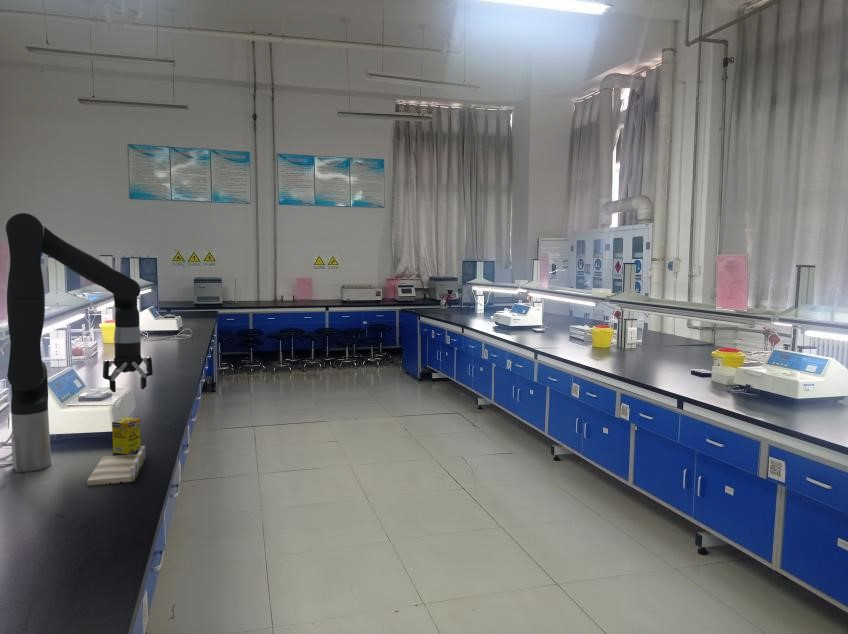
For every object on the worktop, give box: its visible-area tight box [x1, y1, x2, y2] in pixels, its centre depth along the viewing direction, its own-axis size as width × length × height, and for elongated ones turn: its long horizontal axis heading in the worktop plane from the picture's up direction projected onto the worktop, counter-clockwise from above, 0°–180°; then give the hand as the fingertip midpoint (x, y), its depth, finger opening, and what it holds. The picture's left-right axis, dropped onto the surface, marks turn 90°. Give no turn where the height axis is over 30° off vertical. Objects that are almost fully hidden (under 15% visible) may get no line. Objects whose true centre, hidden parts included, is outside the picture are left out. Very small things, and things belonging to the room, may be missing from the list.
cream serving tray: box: [86, 445, 146, 486], centre depth 177 cm, size 20×12×4 cm, turn 17°
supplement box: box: [111, 416, 142, 456], centre depth 192 cm, size 6×6×11 cm
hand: (128, 390), depth 192 cm, fingers open, 8 cm apart
